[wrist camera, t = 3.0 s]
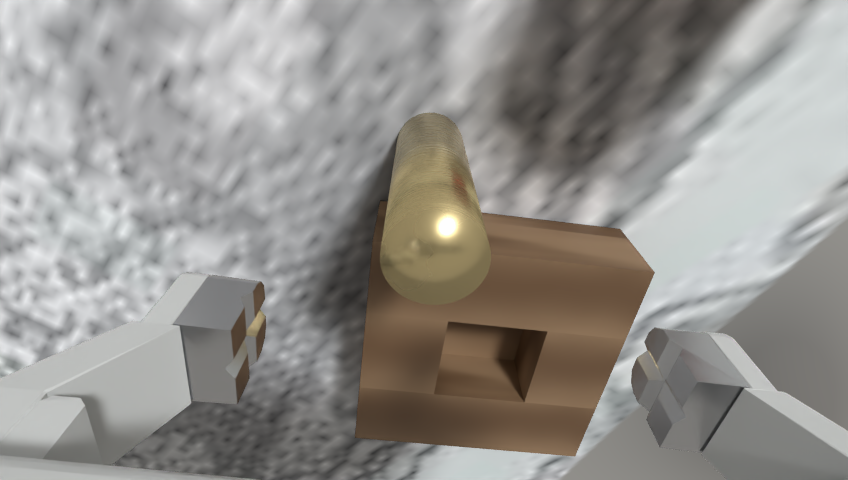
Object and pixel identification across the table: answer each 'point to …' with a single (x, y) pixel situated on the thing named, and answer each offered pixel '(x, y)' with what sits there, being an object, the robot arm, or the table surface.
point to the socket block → (503, 342)
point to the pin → (433, 216)
